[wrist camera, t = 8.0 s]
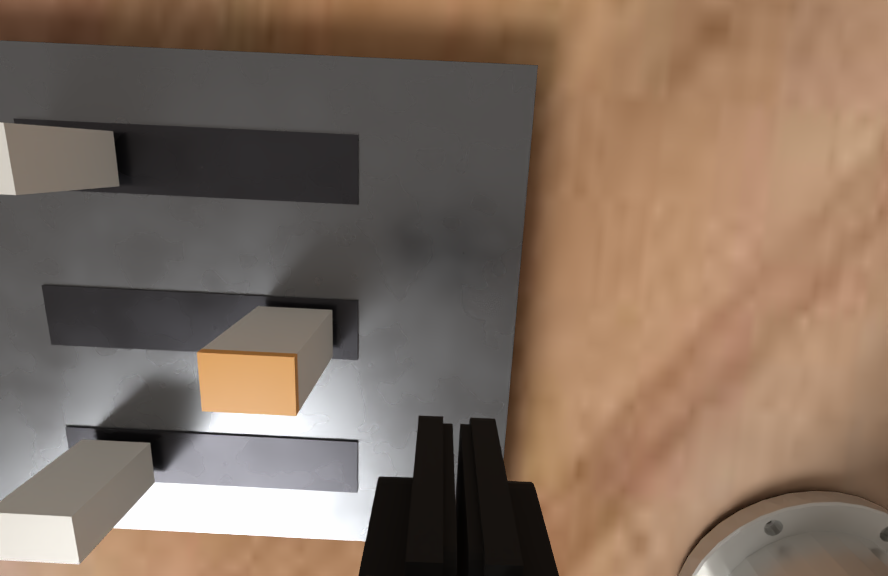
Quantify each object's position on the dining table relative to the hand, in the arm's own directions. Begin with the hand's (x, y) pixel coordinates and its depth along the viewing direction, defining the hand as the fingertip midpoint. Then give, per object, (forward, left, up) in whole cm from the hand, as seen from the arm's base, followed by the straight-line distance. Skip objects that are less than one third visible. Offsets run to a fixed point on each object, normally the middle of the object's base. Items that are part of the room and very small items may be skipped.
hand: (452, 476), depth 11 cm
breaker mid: (+6, 0, -10) cm, 11 cm away
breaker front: (+14, -6, -10) cm, 18 cm away
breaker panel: (+11, 0, -12) cm, 17 cm away
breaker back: (+14, +7, -10) cm, 19 cm away
